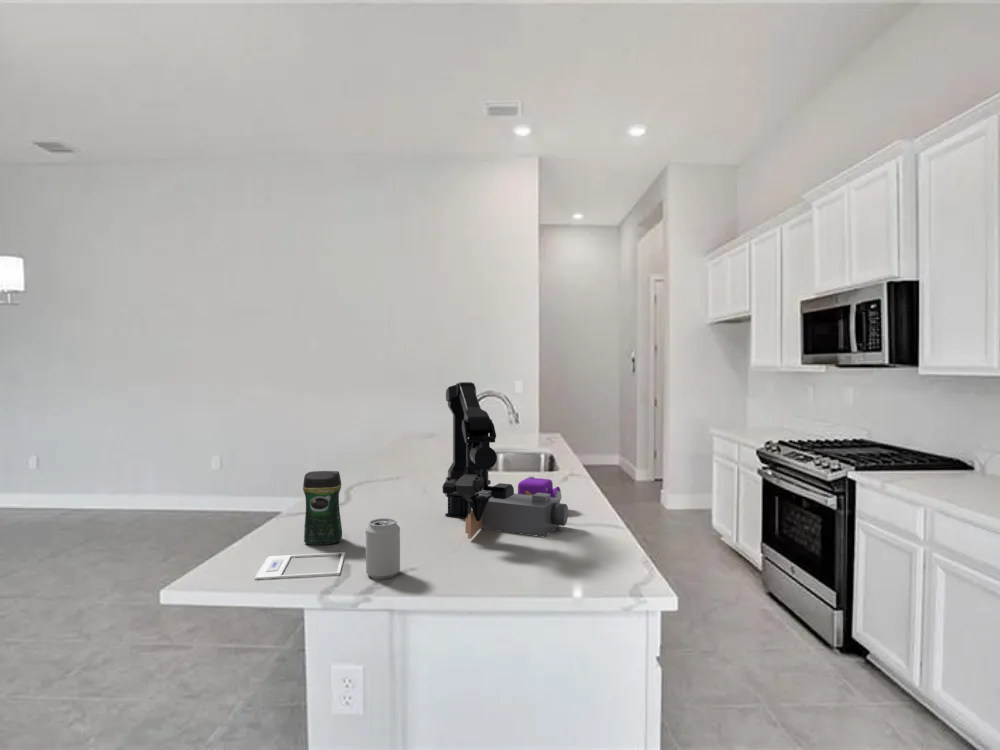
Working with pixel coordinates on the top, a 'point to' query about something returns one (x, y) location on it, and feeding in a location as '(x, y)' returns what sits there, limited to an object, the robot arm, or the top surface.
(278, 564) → the photo frame
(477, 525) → the side door
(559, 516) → the block
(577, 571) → the top surface
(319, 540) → the coffee jar
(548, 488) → the toy camera
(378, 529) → the can
